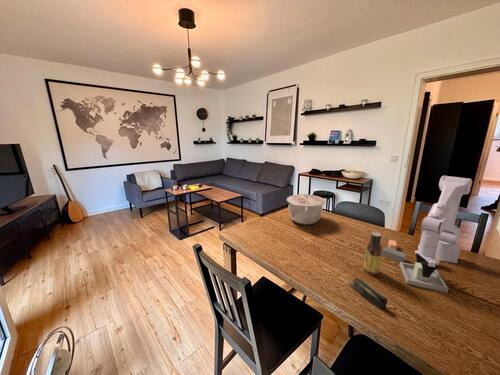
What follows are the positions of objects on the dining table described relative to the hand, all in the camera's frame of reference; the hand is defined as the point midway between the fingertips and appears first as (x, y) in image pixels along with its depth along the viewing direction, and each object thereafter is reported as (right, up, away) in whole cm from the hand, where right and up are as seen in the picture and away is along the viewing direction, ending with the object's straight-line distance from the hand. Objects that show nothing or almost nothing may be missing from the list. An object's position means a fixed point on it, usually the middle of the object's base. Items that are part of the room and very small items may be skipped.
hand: (422, 271), depth 92 cm
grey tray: (0, -3, +1) cm, 3 cm away
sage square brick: (0, -3, +1) cm, 3 cm away
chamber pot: (-36, +12, +63) cm, 74 cm away
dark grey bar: (-30, -7, -8) cm, 32 cm away
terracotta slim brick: (+3, +3, +25) cm, 25 cm away
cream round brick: (+13, -1, +10) cm, 17 cm away
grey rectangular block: (-2, 0, +16) cm, 17 cm away
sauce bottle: (-19, -3, +6) cm, 21 cm away
